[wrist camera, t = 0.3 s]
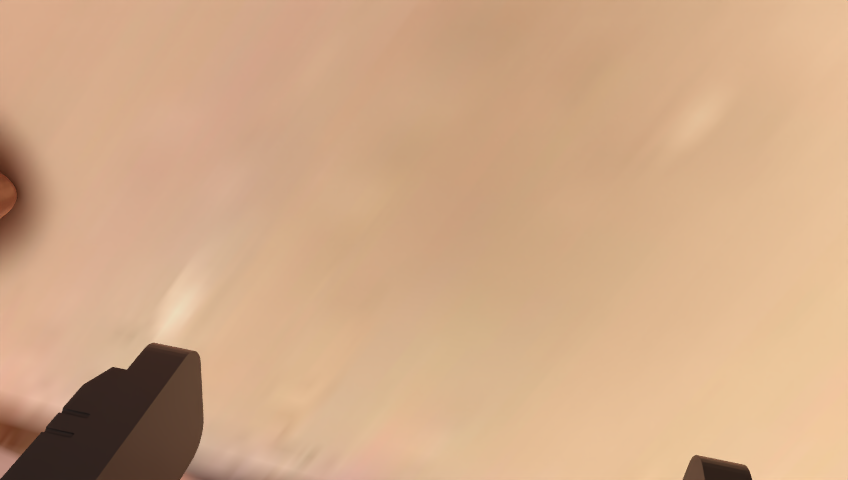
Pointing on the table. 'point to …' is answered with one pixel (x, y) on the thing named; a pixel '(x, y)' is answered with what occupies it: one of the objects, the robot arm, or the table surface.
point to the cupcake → (6, 195)
